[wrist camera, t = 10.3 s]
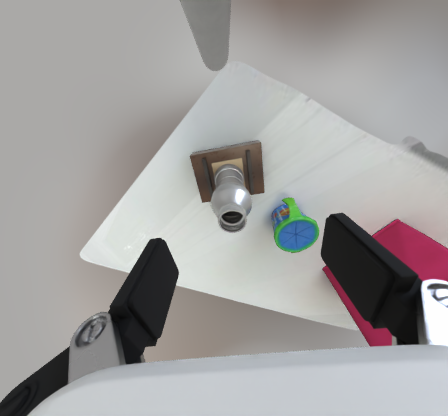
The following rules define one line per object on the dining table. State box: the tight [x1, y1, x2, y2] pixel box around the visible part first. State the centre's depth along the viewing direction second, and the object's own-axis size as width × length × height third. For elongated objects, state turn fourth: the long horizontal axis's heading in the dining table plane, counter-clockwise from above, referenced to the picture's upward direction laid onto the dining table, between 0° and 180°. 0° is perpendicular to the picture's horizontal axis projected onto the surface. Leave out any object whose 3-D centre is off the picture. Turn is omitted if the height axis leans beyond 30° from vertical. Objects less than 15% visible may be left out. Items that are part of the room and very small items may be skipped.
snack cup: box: [272, 198, 319, 253], centre depth 44 cm, size 16×10×10 cm
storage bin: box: [323, 219, 448, 347], centre depth 46 cm, size 28×29×28 cm
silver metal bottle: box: [211, 164, 252, 233], centre depth 30 cm, size 6×7×20 cm
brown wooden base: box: [190, 140, 264, 203], centre depth 40 cm, size 12×16×6 cm
